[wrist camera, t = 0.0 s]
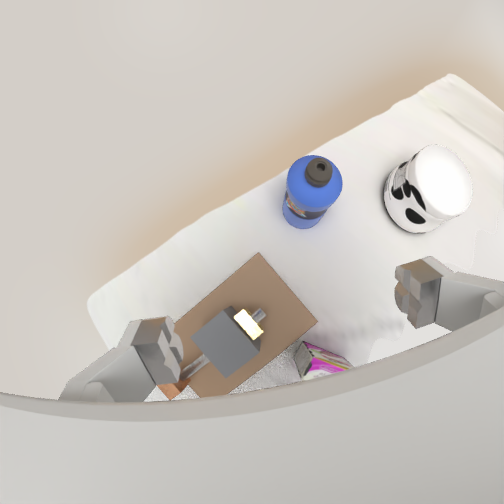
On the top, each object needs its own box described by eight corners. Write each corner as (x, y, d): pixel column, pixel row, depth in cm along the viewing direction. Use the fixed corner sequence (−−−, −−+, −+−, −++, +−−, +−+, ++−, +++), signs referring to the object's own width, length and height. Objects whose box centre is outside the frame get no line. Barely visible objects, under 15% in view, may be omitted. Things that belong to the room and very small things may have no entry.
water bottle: (306, 182, 66) (324, 129, 41) (330, 214, 65) (363, 175, 40) (273, 204, 66) (276, 158, 41) (298, 237, 65) (316, 208, 40)
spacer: (263, 327, 58) (263, 332, 52) (254, 335, 58) (253, 340, 52) (245, 306, 58) (243, 309, 53) (236, 314, 58) (233, 317, 53)
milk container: (445, 224, 63) (486, 207, 45) (395, 245, 63) (433, 232, 45) (420, 163, 65) (453, 134, 47) (368, 178, 65) (396, 147, 48)
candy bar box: (345, 356, 61) (368, 377, 45) (335, 375, 61) (355, 401, 44) (302, 338, 62) (313, 355, 46) (292, 358, 62) (300, 381, 45)
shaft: (270, 317, 57) (270, 322, 49) (181, 387, 56) (169, 400, 48) (256, 302, 58) (255, 305, 50) (169, 373, 57) (156, 384, 49)
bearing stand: (317, 321, 62) (329, 329, 49) (209, 405, 61) (197, 429, 48) (258, 252, 65) (256, 244, 52) (154, 341, 64) (130, 352, 51)
